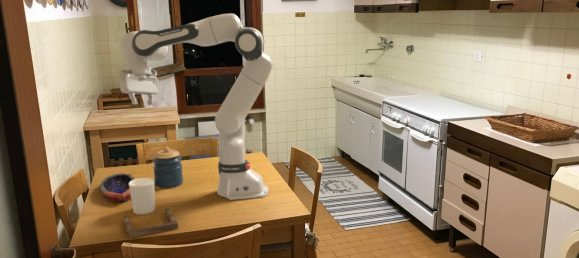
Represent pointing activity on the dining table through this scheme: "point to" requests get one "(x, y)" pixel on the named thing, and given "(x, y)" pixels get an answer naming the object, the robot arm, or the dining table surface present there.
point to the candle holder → (142, 195)
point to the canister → (167, 168)
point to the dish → (116, 187)
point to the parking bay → (153, 229)
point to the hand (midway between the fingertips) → (143, 104)
